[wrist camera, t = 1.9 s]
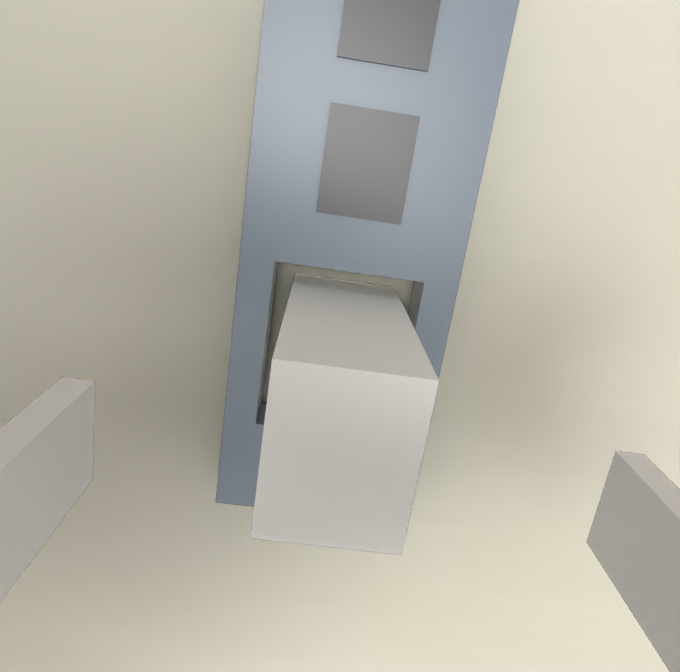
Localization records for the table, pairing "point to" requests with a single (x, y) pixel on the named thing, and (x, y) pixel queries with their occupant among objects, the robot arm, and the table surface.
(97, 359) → the table surface
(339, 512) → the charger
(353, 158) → the power strip
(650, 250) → the table surface
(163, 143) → the table surface
